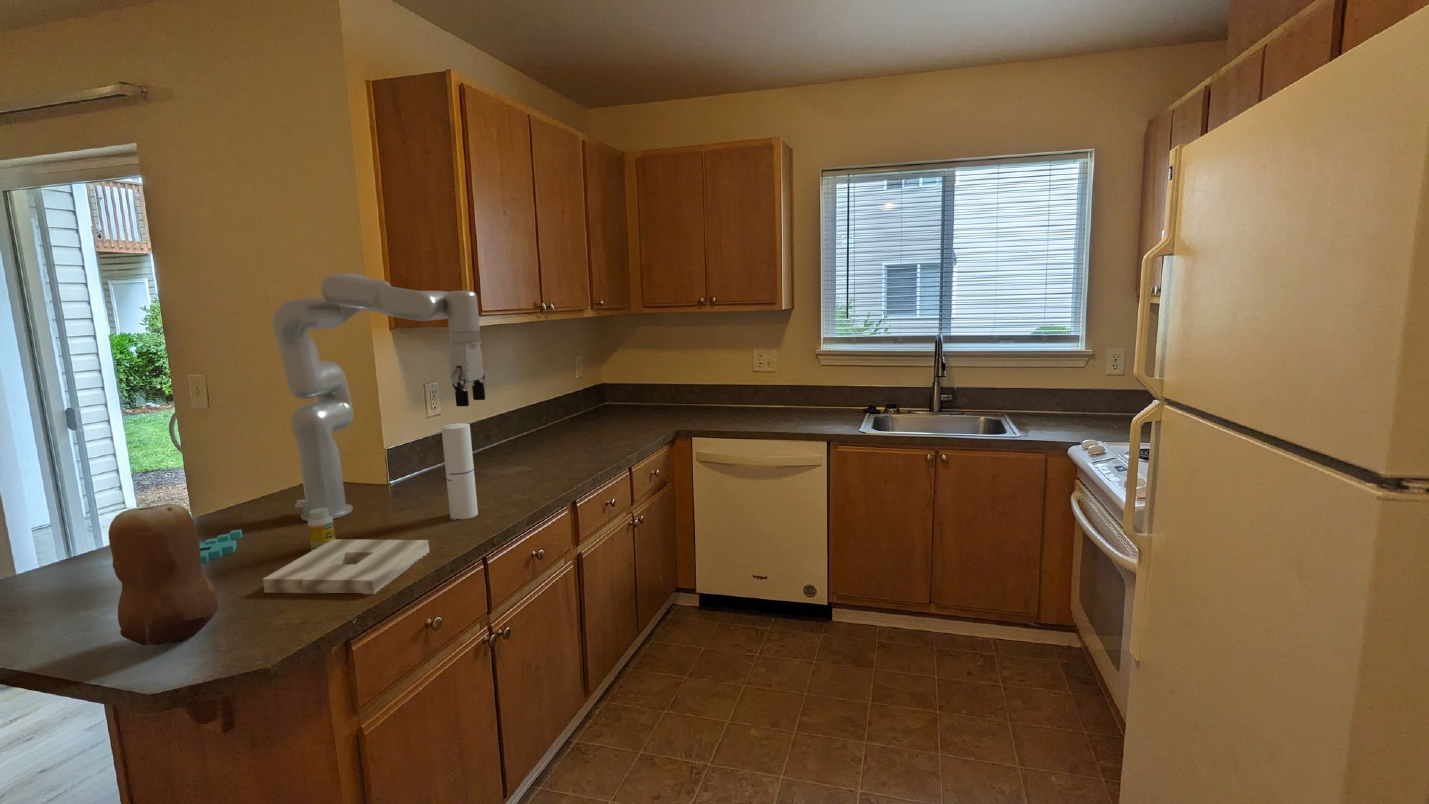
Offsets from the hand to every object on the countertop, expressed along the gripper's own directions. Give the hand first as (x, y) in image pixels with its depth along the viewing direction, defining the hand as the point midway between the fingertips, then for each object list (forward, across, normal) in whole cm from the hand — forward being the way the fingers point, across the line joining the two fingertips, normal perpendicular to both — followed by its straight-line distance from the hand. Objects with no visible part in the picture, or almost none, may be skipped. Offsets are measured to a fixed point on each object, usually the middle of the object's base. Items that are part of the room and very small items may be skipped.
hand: (471, 402), depth 178 cm
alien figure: (+32, +30, -60) cm, 74 cm away
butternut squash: (+31, +67, -27) cm, 79 cm away
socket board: (+31, +37, -13) cm, 50 cm away
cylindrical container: (+31, 0, -5) cm, 32 cm away
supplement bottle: (+31, +24, -29) cm, 49 cm away
